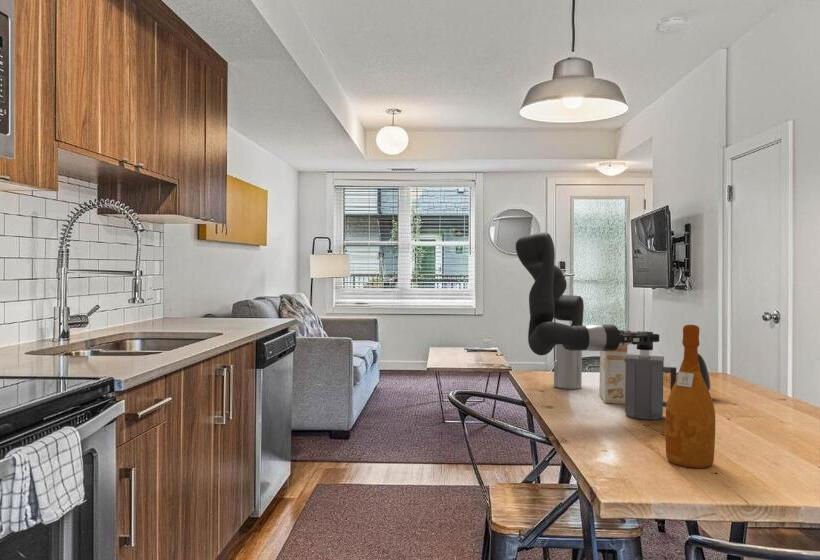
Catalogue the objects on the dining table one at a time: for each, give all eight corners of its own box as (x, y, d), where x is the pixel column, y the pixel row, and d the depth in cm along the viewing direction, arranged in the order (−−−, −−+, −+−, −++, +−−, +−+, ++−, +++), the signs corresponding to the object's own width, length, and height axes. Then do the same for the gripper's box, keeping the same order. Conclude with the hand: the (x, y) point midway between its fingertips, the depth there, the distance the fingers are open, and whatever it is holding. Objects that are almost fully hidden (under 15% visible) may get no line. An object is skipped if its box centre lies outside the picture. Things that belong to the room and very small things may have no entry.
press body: (623, 417, 172) (624, 358, 172) (627, 410, 181) (627, 354, 181) (675, 423, 166) (676, 361, 166) (676, 415, 175) (676, 357, 175)
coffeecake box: (627, 404, 190) (628, 342, 190) (603, 403, 191) (604, 342, 191) (620, 395, 204) (621, 337, 204) (598, 394, 206) (599, 337, 206)
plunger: (628, 412, 172) (629, 332, 172) (631, 407, 179) (632, 330, 179) (657, 415, 169) (658, 333, 169) (658, 409, 176) (659, 331, 176)
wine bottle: (656, 456, 136) (658, 322, 135) (698, 455, 136) (700, 323, 136) (679, 470, 126) (681, 326, 125) (724, 469, 127) (726, 326, 126)
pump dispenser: (703, 395, 206) (703, 350, 206) (715, 401, 196) (716, 354, 196) (672, 394, 207) (672, 350, 207) (682, 400, 197) (683, 354, 197)
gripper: (611, 326, 164) (668, 326, 167) (587, 322, 178) (640, 322, 181) (611, 354, 164) (668, 353, 167) (586, 347, 179) (639, 347, 182)
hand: (653, 337), depth 174 cm, fingers closed on plunger, 4 cm apart
